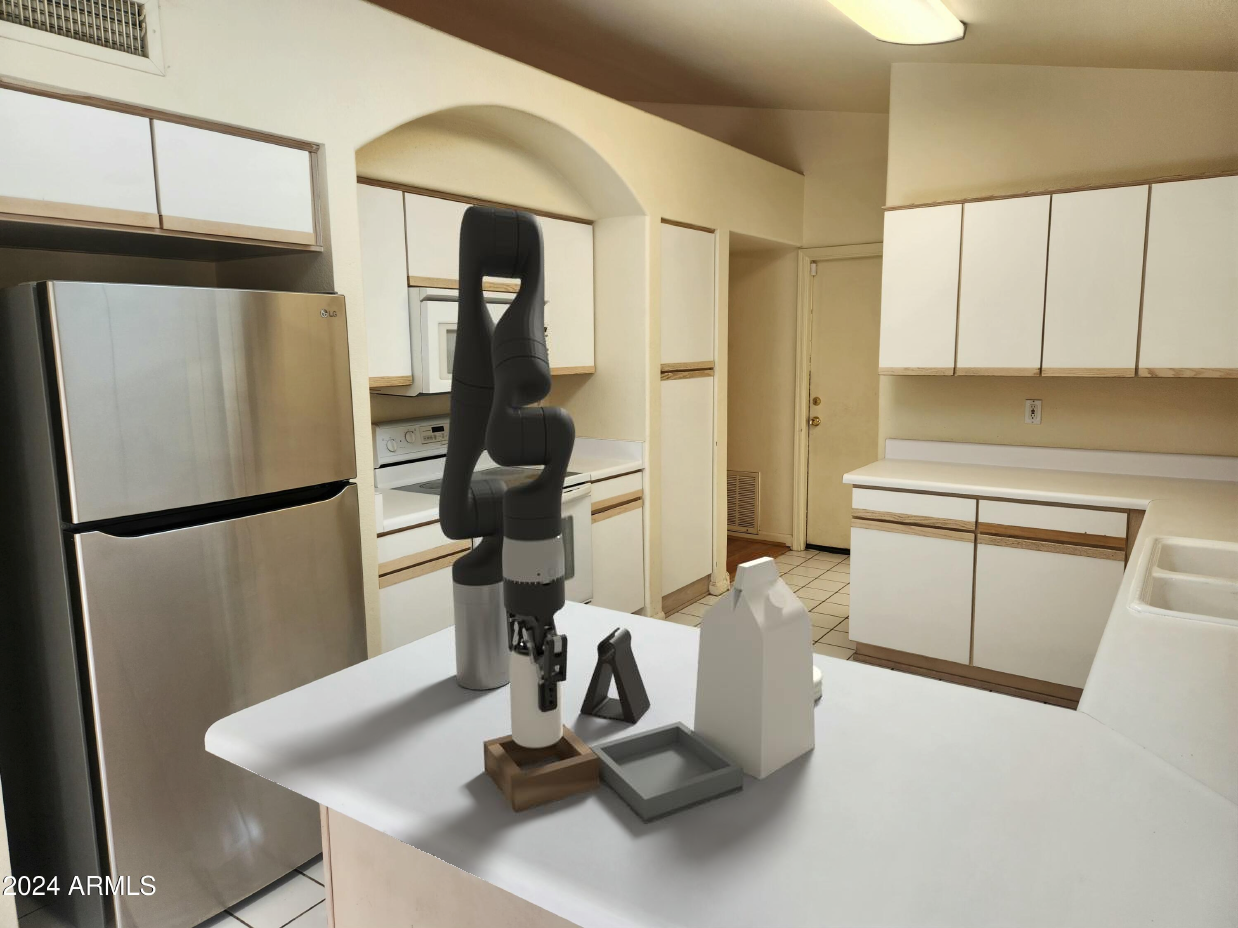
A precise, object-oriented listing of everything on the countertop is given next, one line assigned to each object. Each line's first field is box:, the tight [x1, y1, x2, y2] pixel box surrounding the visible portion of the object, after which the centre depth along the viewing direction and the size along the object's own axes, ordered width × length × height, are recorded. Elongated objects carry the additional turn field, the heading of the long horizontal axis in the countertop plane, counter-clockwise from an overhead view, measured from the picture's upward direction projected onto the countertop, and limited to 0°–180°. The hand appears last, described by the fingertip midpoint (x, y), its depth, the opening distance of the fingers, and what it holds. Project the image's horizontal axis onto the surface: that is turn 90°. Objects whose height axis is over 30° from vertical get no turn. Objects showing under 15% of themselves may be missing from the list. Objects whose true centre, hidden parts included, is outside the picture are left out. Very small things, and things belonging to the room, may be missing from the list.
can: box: [509, 641, 564, 749], centre depth 101 cm, size 6×6×12 cm
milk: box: [693, 556, 816, 780], centre depth 108 cm, size 12×12×26 cm
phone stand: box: [579, 627, 651, 725], centre depth 120 cm, size 9×6×12 cm, turn 67°
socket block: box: [482, 723, 600, 814], centre depth 102 cm, size 11×11×4 cm
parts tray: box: [588, 721, 744, 824], centre depth 102 cm, size 14×14×3 cm
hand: (536, 698), depth 101 cm, fingers closed on can, 6 cm apart
